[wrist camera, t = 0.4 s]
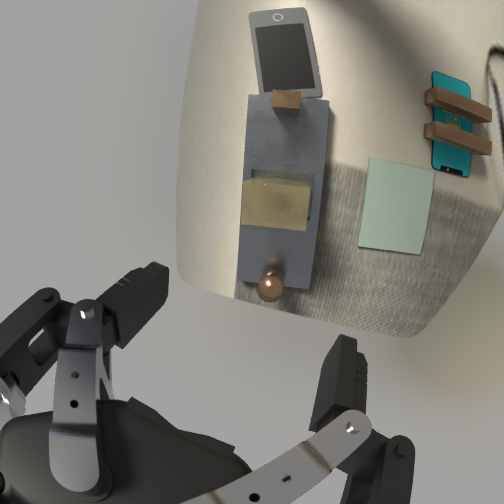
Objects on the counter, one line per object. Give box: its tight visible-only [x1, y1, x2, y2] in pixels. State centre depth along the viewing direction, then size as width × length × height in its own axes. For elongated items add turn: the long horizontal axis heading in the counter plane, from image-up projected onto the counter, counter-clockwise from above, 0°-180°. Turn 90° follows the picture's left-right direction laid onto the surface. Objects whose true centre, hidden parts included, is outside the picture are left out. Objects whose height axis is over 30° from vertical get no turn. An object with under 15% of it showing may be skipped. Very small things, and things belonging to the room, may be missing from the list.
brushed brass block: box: [241, 176, 310, 231], centre depth 30 cm, size 4×6×10 cm, turn 86°
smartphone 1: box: [249, 7, 322, 98], centre depth 30 cm, size 15×8×1 cm, turn 6°
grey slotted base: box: [237, 90, 329, 302], centre depth 33 cm, size 25×10×7 cm, turn 176°
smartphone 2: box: [431, 72, 472, 177], centre depth 28 cm, size 7×1×15 cm
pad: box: [357, 158, 435, 254], centre depth 34 cm, size 12×10×1 cm
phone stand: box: [424, 86, 492, 155], centre depth 26 cm, size 7×10×4 cm
